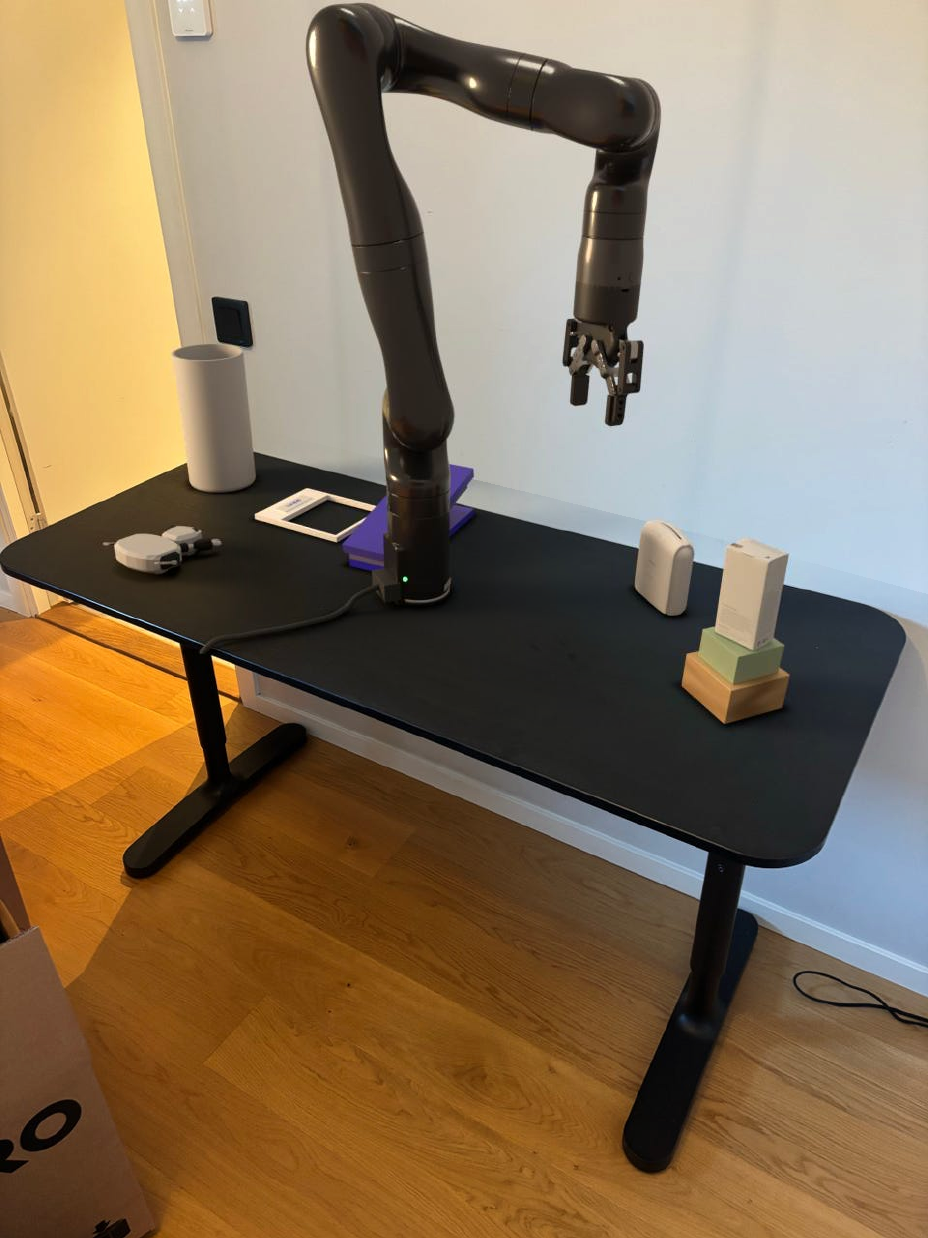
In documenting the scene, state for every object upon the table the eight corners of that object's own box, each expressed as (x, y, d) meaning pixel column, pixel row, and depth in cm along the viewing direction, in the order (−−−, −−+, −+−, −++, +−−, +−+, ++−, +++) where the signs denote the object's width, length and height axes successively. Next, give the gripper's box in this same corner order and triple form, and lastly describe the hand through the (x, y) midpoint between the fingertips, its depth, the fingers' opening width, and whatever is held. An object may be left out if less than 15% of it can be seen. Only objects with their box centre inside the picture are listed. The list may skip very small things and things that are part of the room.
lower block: (724, 724, 111) (731, 690, 109) (681, 685, 119) (686, 653, 116) (782, 708, 115) (790, 675, 112) (736, 671, 122) (743, 639, 119)
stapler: (476, 515, 165) (478, 464, 160) (406, 580, 142) (405, 523, 138) (419, 504, 169) (419, 454, 164) (342, 566, 146) (339, 509, 141)
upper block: (732, 684, 110) (738, 657, 108) (697, 655, 116) (702, 629, 114) (778, 672, 113) (784, 645, 111) (742, 645, 118) (747, 618, 116)
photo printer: (629, 587, 142) (639, 514, 136) (653, 583, 143) (664, 511, 137) (664, 619, 134) (675, 543, 127) (689, 614, 135) (701, 538, 129)
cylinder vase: (224, 499, 169) (208, 364, 157) (176, 485, 175) (156, 353, 162) (269, 478, 179) (257, 349, 166) (222, 465, 184) (207, 340, 171)
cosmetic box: (774, 641, 111) (793, 552, 105) (752, 653, 109) (771, 563, 103) (732, 621, 115) (749, 534, 109) (710, 632, 113) (726, 544, 107)
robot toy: (176, 540, 155) (102, 566, 144) (174, 515, 153) (98, 540, 142) (227, 558, 150) (154, 587, 138) (226, 533, 148) (152, 560, 136)
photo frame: (306, 487, 172) (385, 507, 164) (307, 492, 172) (385, 513, 165) (254, 513, 161) (336, 536, 153) (255, 519, 161) (336, 542, 154)
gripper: (550, 269, 109) (542, 401, 117) (613, 290, 98) (599, 435, 106) (604, 266, 112) (592, 396, 120) (671, 286, 101) (653, 428, 109)
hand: (595, 414), depth 113 cm, fingers open, 8 cm apart
